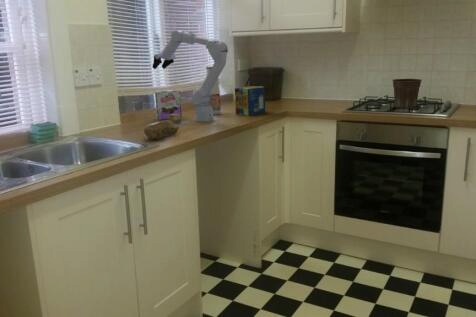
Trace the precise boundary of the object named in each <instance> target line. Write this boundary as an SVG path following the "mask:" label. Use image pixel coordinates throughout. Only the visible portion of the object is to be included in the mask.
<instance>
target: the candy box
mask: <svg viewBox="0 0 476 317" xmlns="http://www.w3.org/2000/svg"><path fill="white" fill-rule="evenodd" d="M154 99H155V100H154V101H155V110H156V111H155V112H156V120H169V115H170V114H181V119H182V116H183V115H182V104H181V91H180V90H179V89H168V90H154Z"/></svg>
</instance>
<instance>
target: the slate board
mask: <svg viewBox="0 0 476 317" xmlns="http://www.w3.org/2000/svg"><path fill="white" fill-rule="evenodd" d="M157 122H158V123H159V122H160V121H157ZM190 122H191V121H186V120H181V123H177V124H176V125H177V126H180V125H183V124H187V123H190ZM145 126H147V127H150V126H152V125H148V124H146V125H145Z"/></svg>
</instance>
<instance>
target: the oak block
mask: <svg viewBox="0 0 476 317" xmlns="http://www.w3.org/2000/svg"><path fill="white" fill-rule="evenodd" d="M181 115H182V113H181V114H170V115H169V119H168V120H169V122H171V123H174V124H177V123H181V121H182V118H181Z"/></svg>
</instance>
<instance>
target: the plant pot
mask: <svg viewBox="0 0 476 317" xmlns="http://www.w3.org/2000/svg"><path fill="white" fill-rule="evenodd" d="M391 81H392V86H393V99H394V108H395V107H396V108H397V109H404V110H406V109H407V110H409V108H410V109H416V108H417V106H418V98H419V92H420V88H421V83H422V81H423V80H422V79H421V78H420V79H419V78H397V79H396V78H395V79H392V80H391Z"/></svg>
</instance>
